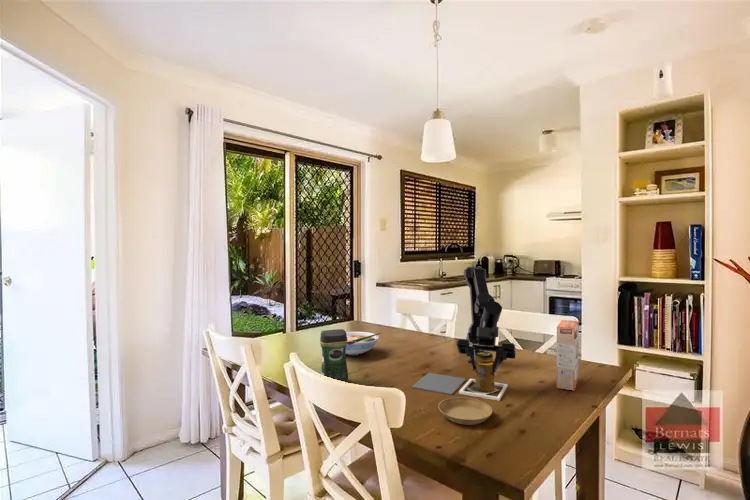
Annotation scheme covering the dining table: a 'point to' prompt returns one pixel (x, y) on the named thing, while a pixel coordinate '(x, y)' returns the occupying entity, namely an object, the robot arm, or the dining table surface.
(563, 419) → the dining table surface
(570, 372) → the cracker box
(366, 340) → the ramen bowl
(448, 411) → the plant saucer
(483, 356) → the condiment
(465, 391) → the ceramic frame
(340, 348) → the coffee jar
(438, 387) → the rubber mat
